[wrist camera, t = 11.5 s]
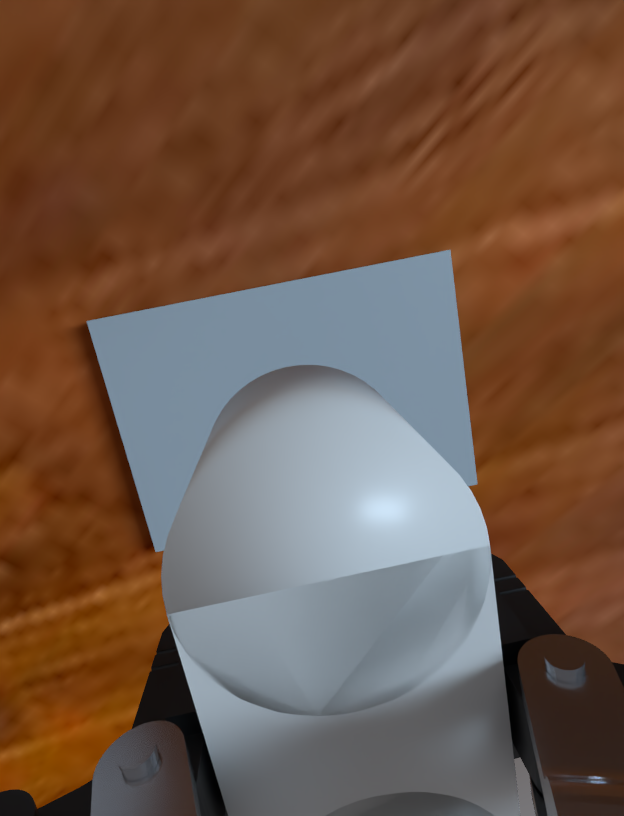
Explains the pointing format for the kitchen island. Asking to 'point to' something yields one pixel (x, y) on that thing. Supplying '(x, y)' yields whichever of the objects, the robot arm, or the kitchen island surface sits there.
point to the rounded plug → (338, 611)
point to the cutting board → (283, 363)
